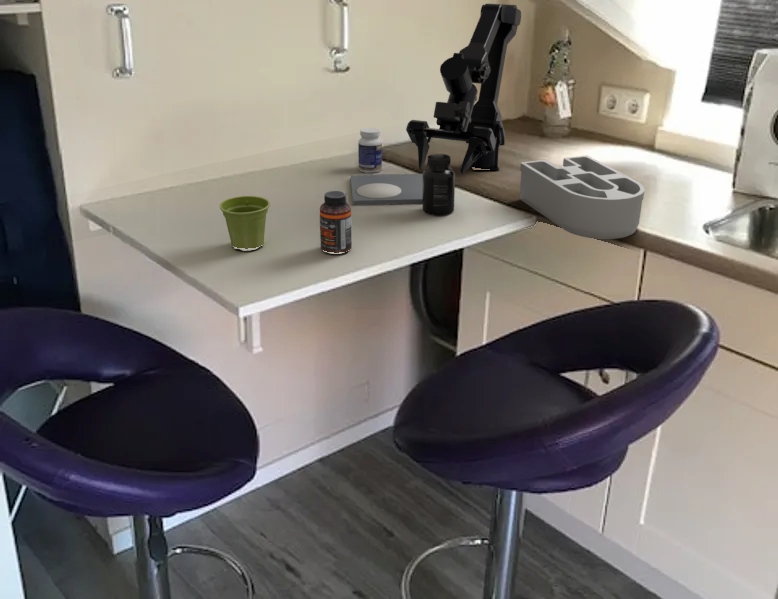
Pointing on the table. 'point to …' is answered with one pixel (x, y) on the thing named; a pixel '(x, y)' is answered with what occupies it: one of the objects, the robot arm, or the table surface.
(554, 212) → the grey compartment organizer
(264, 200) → the plant pot
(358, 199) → the board
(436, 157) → the supplement bottle
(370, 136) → the pill bottle
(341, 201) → the supplement bottle
